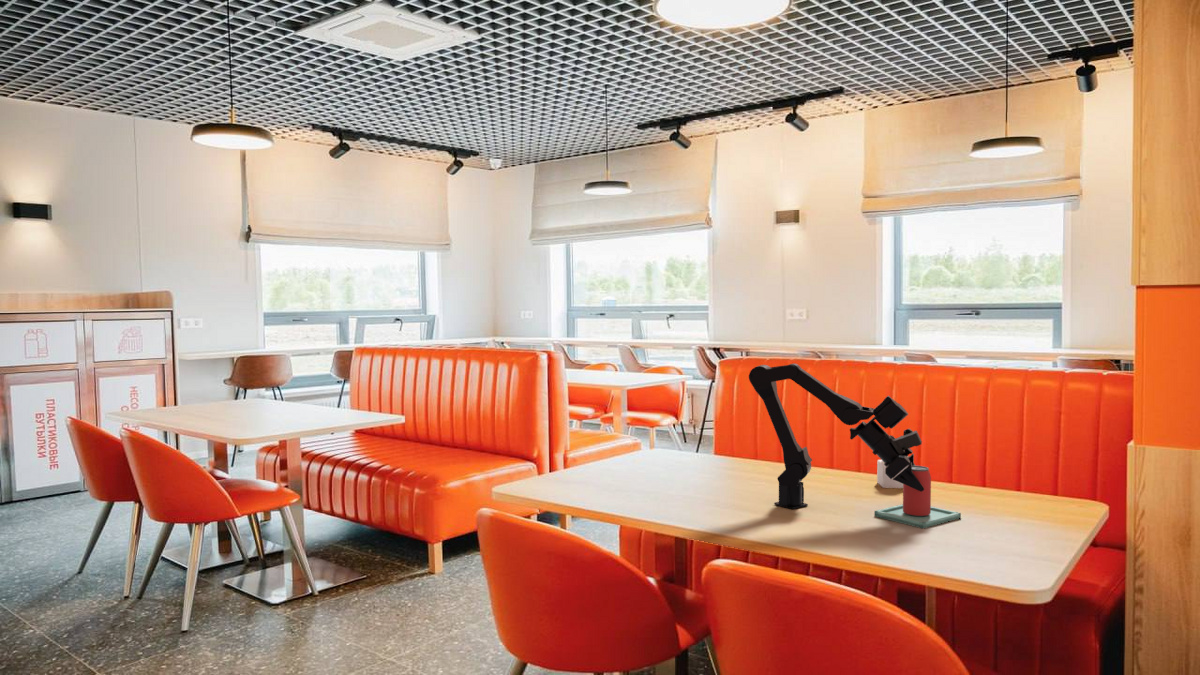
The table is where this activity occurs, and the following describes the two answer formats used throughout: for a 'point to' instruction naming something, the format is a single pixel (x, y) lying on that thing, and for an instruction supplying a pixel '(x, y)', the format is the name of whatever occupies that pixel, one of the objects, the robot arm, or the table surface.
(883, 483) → the medicine bottle
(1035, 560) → the table surface
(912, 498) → the beer can
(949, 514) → the tray
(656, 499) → the table surface
